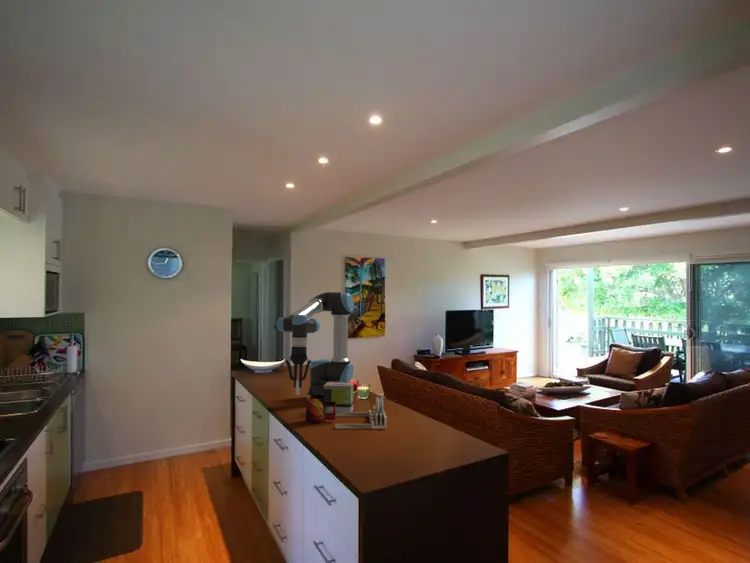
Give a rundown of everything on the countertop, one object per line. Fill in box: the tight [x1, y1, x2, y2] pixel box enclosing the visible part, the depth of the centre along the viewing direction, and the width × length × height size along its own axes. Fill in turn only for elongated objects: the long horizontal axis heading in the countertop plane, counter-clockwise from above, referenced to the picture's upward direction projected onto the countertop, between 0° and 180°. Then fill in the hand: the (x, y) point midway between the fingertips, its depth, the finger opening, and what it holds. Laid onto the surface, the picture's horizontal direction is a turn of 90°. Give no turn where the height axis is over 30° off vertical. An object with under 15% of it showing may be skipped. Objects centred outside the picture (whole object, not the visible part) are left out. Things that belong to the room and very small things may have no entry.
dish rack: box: [334, 396, 388, 430], centre depth 207 cm, size 22×24×12 cm
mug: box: [305, 395, 337, 425], centre depth 208 cm, size 10×14×12 cm
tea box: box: [323, 382, 354, 414], centre depth 226 cm, size 15×10×15 cm
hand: (297, 394), depth 207 cm, fingers closed
